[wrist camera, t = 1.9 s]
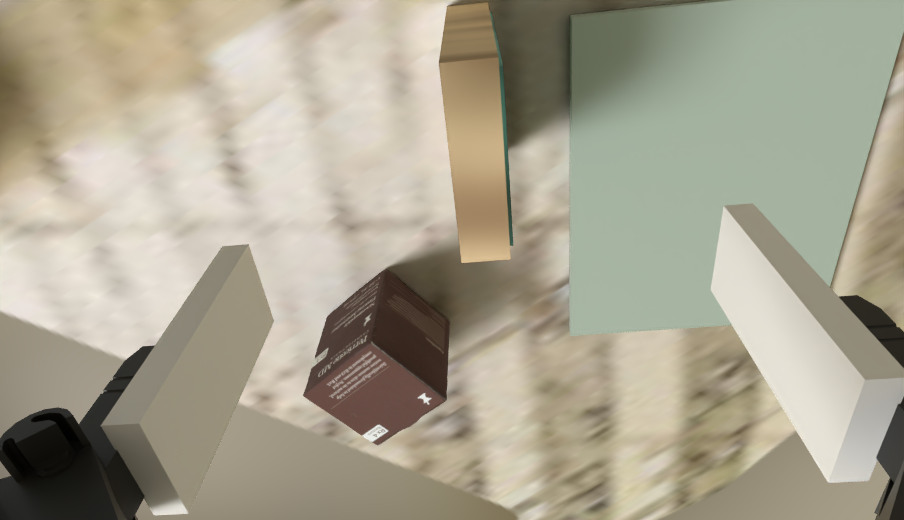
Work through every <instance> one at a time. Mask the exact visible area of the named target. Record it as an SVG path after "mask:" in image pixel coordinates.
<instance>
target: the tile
mask: <svg viewBox="0 0 904 520" xmlns="http://www.w3.org/2000/svg"><path fill="white" fill-rule="evenodd" d="M439 68H440V77H441V86H442V95H443V104H444V113H445V121H446V130H447V139H448V148H449V157H450V166H451V174H452V183H453V192H454V201H455V210H456V219H457V227H458V236H459V245H460V254H461V263H469V262H482V261H495V260H508V259H511V256H510V246H513V232H512V215H511V197H510V180H509V162H508V144H507V127H506V109H505V92H504V74H503V63H502V59H501V54H500V49H499V44H498V40H497V35H496V30H495V25H494V21H493V16H492V12H490V11H489V6H488V2H483V3H473V4H464V5H455V6H447V11H446V18H445V25H444V32H443V39H442V45H441V52H440V59H439Z"/></svg>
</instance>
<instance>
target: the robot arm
mask: <svg viewBox="0 0 904 520" xmlns="http://www.w3.org/2000/svg"><path fill="white" fill-rule="evenodd" d="M711 291H712V293H713V295H714V296H715V298H716V300H717V301H718V303H719V304H720V306H721V308H722V309H723V311H724V313H725V314H726V316H727V318H728V319H729V321H730V323H731V324H732V326H733V327H734V329H735V331H736V332H737V334H738V336H739V337H740V339H741V341H742V342H743V344H744V345H745V347H746V349H747V350H748V352H749V354H750V355H751V357H752V359H753V360H754V362H755V363H756V365H757V367H758V368H759V370H760V372H761V373H762V375H763V377H764V378H765V380H766V382H767V383H768V385H769V386H770V388H771V390H772V391H773V393H774V395H775V396H776V398H777V400H778V401H779V403H780V404H781V406H782V408H783V409H784V411H785V413H786V414H787V416H788V418H789V419H790V421H791V423H792V424H793V426H794V427H795V429H796V431H797V432H798V434H799V436H800V437H801V439H802V441H803V442H804V444H805V445H806V447H807V449H808V450H809V452H810V454H811V455H812V457H813V459H814V460H815V462H816V463H817V465H818V467H819V468H820V470H821V472H822V473H823V475H824V477H825V478H826V480H827V481H828V483H833V482H853V481H869V479H870V476H871V474H872V472H873V469H874V467H875V464H876V462H877V460H878V461H879V463H880V464H881V465H882V467H883V468H884V469H885V471H886V472H887V474H888V475H889V476H890V479H889V481H888V483H887V486H886V488H885V490H884V492H883V495H882V497H881V499H880V501H879V504H878V506H877V508H876V510H875V513H876V514H877V516H876V519H875V520H904V332H903V331H902V330H901V329H900V328H899V327H896V324H895V323H894V322H893V321H892V320H891V319H890V317H889V316H888V315H887V314H886V313H885V312H884V311H883V310H882V309H881V308H879V307H877V306H875V305H874V304H872V303H870V302H868V301H866V300H865V299H863V298H861V297H859V296H858V295H855V296H841V297H838V296H837V295H836V294H835V293H834V291H833V290H832V289H831V288H830V287H829V286H828V285H827V284H826V283H825V282H824V280H823V279H822V278H821V277H820V276H819V275H818V274H817V273H816V272H815V271H814V270H813V268H812V267H811V266H810V265H809V264H808V263H807V262H806V261H805V260H804V259H803V257H802V256H801V255H800V254H799V253H798V252H797V251H796V250H795V249H794V248H793V247H792V245H791V244H790V243H789V242H788V241H787V240H786V239H785V238H784V237H783V236H782V234H781V233H780V232H779V231H778V230H777V229H776V228H775V227H774V226H773V225H772V224H771V222H770V221H769V220H768V219H767V218H766V217H765V216H764V215H763V214H762V213H761V211H760V210H759V209H758V208H757V207H756V206H755V205H754V204H753V203H751V204H739V205H726V206H723V213H722V219H721V226H720V232H719V239H718V245H717V251H716V258H715V264H714V271H713V277H712V284H711ZM273 322H274V320H273V317H272V314H271V311H270V308H269V305H268V302H267V299H266V296H265V293H264V290H263V287H262V284H261V281H260V278H259V275H258V272H257V269H256V266H255V263H254V260H253V257H252V254H251V250H250V247H249V244H247V245H235V246H223V247H222V248H221V249H220V251H219V252H218V254H217V255H216V257H215V258H214V260H213V261H212V263H211V264H210V265H209V267H208V268H207V270H206V271H205V273H204V274H203V276H202V277H201V279H200V280H199V282H198V283H197V285H196V286H195V288H194V289H193V291H192V292H191V293H190V295H189V296H188V298H187V299H186V301H185V302H184V304H183V305H182V307H181V308H180V310H179V311H178V313H177V314H176V316H175V317H174V318H173V320H172V321H171V323H170V324H169V326H168V327H167V329H166V330H165V332H164V333H163V335H162V336H161V338H160V339H159V341H158V342H157V343H156V345H155V346H143V347H142V348H140V349H139V350H138V351H137V352H135V353H134V354H133V355H132V356H130V357H129V358H128V359H127V360H125V361H124V363H123V364H122V365H121V367H120V368H119V369H118V371H117V373H116V374H115V375H114V376H113V380H112V381H110V382H109V384H108V385H107V386H106V388H105V389H104V393H103V394H100V396H99V397H98V399H97V400H96V401H95V403H94V404H93V406H92V407H91V408H90V410H89V411H88V413H87V414H86V415H85V417H84V418H83V419H82V421H81V422H80V424H78V423H77V421H76V420H75V418H74V417H73V415H72V414H71V413H70V412H69V411H68V410H67V409H62V408H52V409H45V410H42V411H39V412H37V413H34V414H31V415H29V416H27V417H26V418H24V419H22V420H21V421H19V422H17V423H15V424H14V425H13V426H12V427H11V428H10V429H8V430H7V431H6V432H5V433H4V434H3V435H2V437H1V438H0V461H1V463H2V464H3V465H4V466H5V468H6V469H7V471H8V472H9V473H10V474H11V476H9V477H6V478H3V479H0V520H138V519H137V517H136V515H135V514H136V512H137V510H138V508H139V506H140V504H141V502H142V501H143V499H145V501H146V502H147V504H148V506H149V508H150V509H151V511H152V512H153V514H154V515H170V514H188V513H189V511H190V509H191V507H192V504H193V502H194V500H195V498H196V496H197V493H198V491H199V489H200V487H201V484H202V482H203V480H204V478H205V475H206V473H207V471H208V469H209V466H210V464H211V462H212V460H213V457H214V455H215V453H216V451H217V448H218V446H219V443H220V442H221V439H222V437H223V435H224V433H225V430H226V428H227V426H228V424H229V421H230V419H231V417H232V414H233V412H234V410H235V408H236V405H237V403H238V401H239V399H240V396H241V394H242V392H243V390H244V387H245V385H246V383H247V381H248V378H249V376H250V374H251V372H252V369H253V367H254V365H255V363H256V360H257V358H258V356H259V354H260V351H261V349H262V347H263V345H264V342H265V340H266V338H267V336H268V333H269V331H270V329H271V327H272V324H273Z"/></svg>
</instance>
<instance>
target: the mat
mask: <svg viewBox="0 0 904 520" xmlns="http://www.w3.org/2000/svg"><path fill="white" fill-rule="evenodd" d="M903 32H904V0H708V1H698V2H689V3H679V4H670V5H660V6H651V7H641V8H632V9H623V10H613V11H604V12H594V13H585V14H575V15H570V255H569V331H570V335H571V336H576V335H591V334H606V333H621V332H636V331H650V330H665V329H680V328H695V327H709V326H724V325H732V324H731V323H730V321H729V319H728V318H727V316H726V314H725V313H724V311H723V309H722V308H721V306H720V304H719V303H718V301H717V300H716V298H715V296H714V295H713V293H712V291H711V284H712V277H713V271H714V264H715V258H716V251H717V245H718V239H719V232H720V226H721V219H722V213H723V206H726V205H739V204H751V203H753V204H754V205H755V206H756V207H757V208H758V209H759V210H760V211H761V213H762V214H763V215H764V216H765V217H766V218H767V219H768V220H769V221H770V222H771V224H772V225H773V226H774V227H775V228H776V229H777V230H778V231H779V232H780V233H781V234H782V236H783V237H784V238H785V239H786V240H787V241H788V242H789V243H790V244H791V245H792V247H793V248H794V249H795V250H796V251H797V252H798V253H799V254H800V255H801V256H802V257H803V259H804V260H805V261H806V262H807V263H808V264H809V265H810V266H811V267H812V268H813V270H814V271H815V272H816V273H817V274H818V275H819V276H820V277H821V278H822V279H823V280H824V282H825V283H826V284H827V285H828V286H829V287H830V285H831V282H832V278H833V275H834V271H835V268H836V264H837V261H838V257H839V254H840V250H841V247H842V244H843V240H844V237H845V233H846V230H847V226H848V223H849V219H850V216H851V212H852V209H853V205H854V202H855V199H856V195H857V192H858V188H859V185H860V181H861V178H862V174H863V171H864V167H865V164H866V160H867V157H868V154H869V150H870V147H871V143H872V140H873V136H874V133H875V129H876V126H877V122H878V119H879V116H880V112H881V109H882V105H883V102H884V98H885V95H886V91H887V88H888V84H889V81H890V77H891V74H892V71H893V67H894V64H895V60H896V57H897V53H898V50H899V46H900V43H901V39H902V36H903Z"/></svg>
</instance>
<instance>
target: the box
mask: <svg viewBox="0 0 904 520" xmlns="http://www.w3.org/2000/svg"><path fill="white" fill-rule="evenodd" d="M449 325H450V322H449V321H448V320H447V319H446V318H445V317H443V316H442V315H441V314H440V313H439V312H438V311H436V310H435V309H434V308H433V307H431V306H430V305H429V304H428V303H426V302H425V301H424V300H423V299H422V298H420V297H419V296H418V295H417V294H416V293H414V292H413V291H412V290H411V289H409V288H408V287H407V286H406V285H405V284H404V283H402V282H401V281H400V280H399V279H398V278H397V277H395V276H394V275H393V274H392V273H390V272H389V271H388V270H384V271H382V272H381V273H380V274H378V275H377V276H376V277H375V278H373V279H372V280H371V281H370V282H368V283H367V284H366V285H365V286H363V287H362V288H361V289H360V290H358V291H357V292H356V293H355V294H353V295H352V296H351V297H350V298H348V299H347V300H346V301H345V302H344V303H343V304H342V305H340V306H339V307H338V308H337V309H336V310H335V311H333V312H332V313H331V314H330V315H329V316H328V317H327V319H326V322H325V326H324V329H323V332H322V336H321V338H320V342H319V345H318V348H317V352H316V355H315V359H314V362H313V365H312V368H311V372H310V376H309V379H308V383H307V386H306V389H305V392H304V394H303V396H304V397H305V398H307V399H308V400H310V401H311V402H313V403H314V404H316V405H317V406H319V407H320V408H322V409H323V410H325V411H326V412H328V413H329V414H331V415H332V416H334V417H335V418H337V419H338V420H340V421H341V422H343V423H344V424H346V425H347V426H349V427H350V428H351V429H353V430H354V431H356V432H357V433H359V434H360V435H362V436H363V437H364V438H366V439H368V440H369V441H371V442H373V443H374V444H376V445H380V444H382V443H383V442H384V441H386V440H387V439H389V438H390V437H392V436H393V435H395V434H396V433H398V432H399V431H401V430H403V429H405V428H408V427H410V426H411V425H413V424H414V423H416V422H417V421H418V420H419V419H420V418H421V417H422V416H423V415H425V414H426V413H428V412H429V411H431V410H433V409H434V408H436V407H437V406H439V405H440V404H442V403H443V402H445V401H446V400H447V395H446V391H447V372H448V348H449Z"/></svg>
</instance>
